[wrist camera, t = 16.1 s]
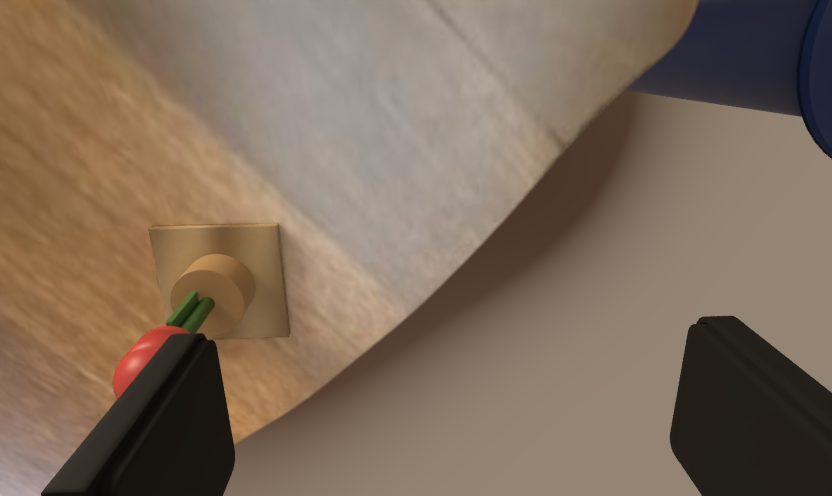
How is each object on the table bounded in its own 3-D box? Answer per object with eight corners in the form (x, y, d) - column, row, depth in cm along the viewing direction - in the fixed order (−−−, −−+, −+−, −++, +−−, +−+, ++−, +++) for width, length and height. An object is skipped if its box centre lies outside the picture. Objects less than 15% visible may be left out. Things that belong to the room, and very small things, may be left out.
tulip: (250, 252, 38) (180, 353, 25) (258, 314, 40) (196, 439, 27) (180, 254, 38) (72, 357, 25) (191, 316, 40) (95, 443, 27)
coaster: (278, 223, 38) (276, 225, 38) (290, 333, 41) (288, 337, 41) (151, 226, 38) (148, 228, 37) (172, 337, 41) (169, 341, 40)
